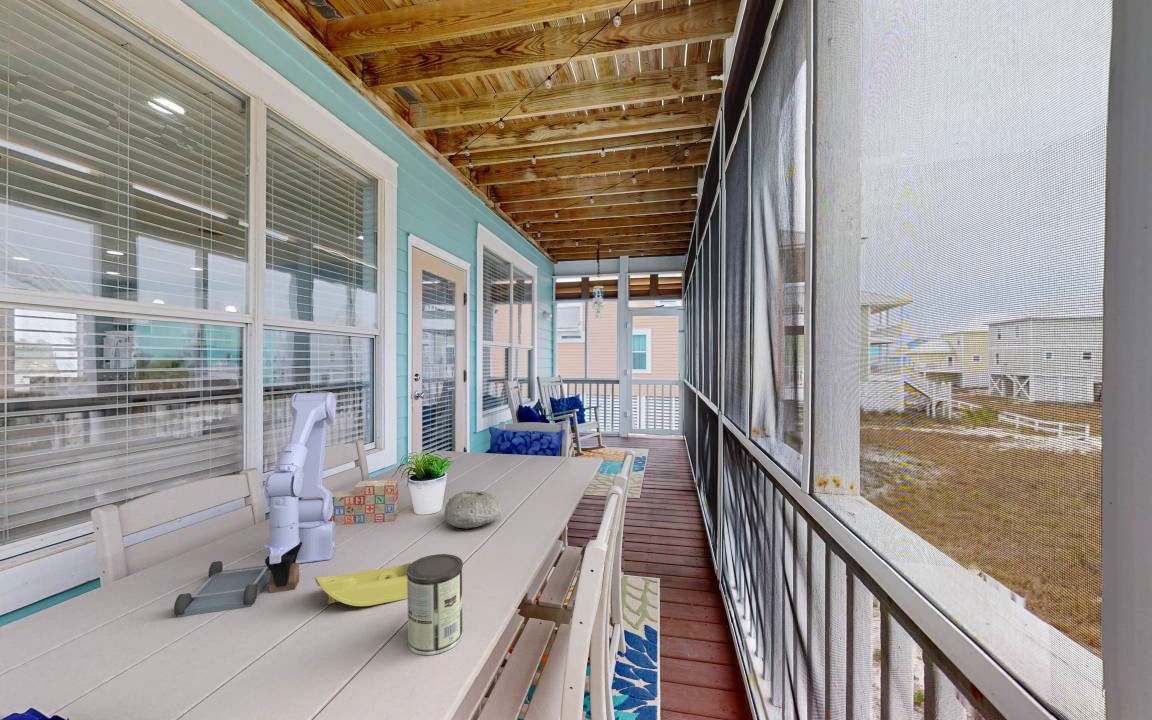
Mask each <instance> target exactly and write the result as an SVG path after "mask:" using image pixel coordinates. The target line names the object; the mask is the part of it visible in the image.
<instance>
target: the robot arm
mask: <svg viewBox="0 0 1152 720" xmlns="http://www.w3.org/2000/svg"><path fill="white" fill-rule="evenodd" d="M289 401H290V402H289V409H290V413H291V416H292V418H293V423H292V427H291V431H290V436H289V442H288V443H286V444H284V445H282V447H281V448H280V452H279V455H278V457H277V461H276V463H275V467H274V468H273V469H274V470H273V472H272V473H271V474H269V475H267V477H266V478H265V482H264V487H263V492H264V493H263V494H264V496H265V498H266V505H267V506H268V507H269V541H268V542H265V543H264V544H263V549H268V551H269V555H268V556H267V557H266V558H264V559H265V560H264V562H265V565H267V566H268V567H269V569H270V571H271V573H272V575H273V578H274V582H275V585H276V587H281V586H286V585H287V583H288V580H289V573H290V568H291V564H293V563H299V564H304V563H312V562H320V561H328V560H331V559H332V557H333V555H334V552H335V551H336V549H337V546H336V525H335V522H334V521H328V520H329V519H330V518H331V516H332V513H333V501H332V497H333V495H332V492H333V491H331V490H330V489H328V488H326V487H325V486H324V485H323V479H324V466H325V459H326V458H325V456H326V446H327V445H326V444H327V434H328V428H329V425H331V424H333V423H335V419H336V409H337V399H336V396H335V394H334V393H333V392H331V391H330V392H308V393H307V392H304V393H303V392H295V393H294V394H293V395H292V396H291V398H290V400H289ZM311 497H312V498H311ZM314 497H316V498H314ZM317 497H318V498H317Z"/></svg>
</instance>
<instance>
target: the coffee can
mask: <svg viewBox="0 0 1152 720" xmlns="http://www.w3.org/2000/svg"><path fill="white" fill-rule="evenodd" d="M412 562H413V563H412ZM412 562H410V563H411V564H410V565H409V566H408V568H407V590H408V597H407V647H408V649H409V650H410V652H412V653H414V654H417V655H421V656H434V655H438V654H439V655H440V654H442V653H445V652H447V651H449V650H451V649H453V648H454V647H456V646H457V645H458V644H459V643H460V641H462V639H463V635H464V631H463V566H464V563H463V562H464V561H463V560H462V559H461V557H459V556H457V555H454V554H448V553H439V554H431V555H426V556H423V557H420V558H418V559H415V561H414V560H413V561H412Z"/></svg>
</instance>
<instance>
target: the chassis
mask: <svg viewBox="0 0 1152 720" xmlns="http://www.w3.org/2000/svg"><path fill="white" fill-rule="evenodd" d="M223 567H224V565H223V561H221V560H219V561H218V560H217V561H213V562H212V563H210V565H209V567H208V568H209V569H208V579H207V580H206V581H205V582H204V583H203V584H202V585H201V586H200V587H199V588H198V589H197V590H196V591H195V592H194V594H191V593H190V592H189V593H181V594H179V595H177V597H176V599H175V602H174V606H173V613H174V615H175V616H177V618H182V617H188V616H194V615H203V614H207V613H215V612H220V611H223V612H224V611H230V610H234V609H243V608H249V607H252V606H253V605H254V604H255V603H256V601H257V599H258V597H259V595H260V594H261V593H262V592H263V590H264V588H265V586H266V585H267V584H268V583H269V573H270V572H271V571H270V569H269V567H268V566H267V565H266V564H265V565H258V566H249V567H242V568H241V567H240V568H234V569H226V570H223Z"/></svg>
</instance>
